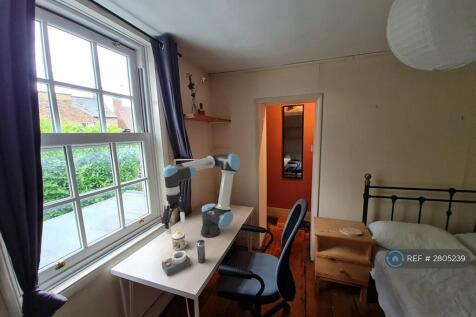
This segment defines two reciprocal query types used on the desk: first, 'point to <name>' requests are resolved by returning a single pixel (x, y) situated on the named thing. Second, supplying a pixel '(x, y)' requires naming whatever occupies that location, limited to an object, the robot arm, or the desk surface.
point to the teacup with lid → (179, 240)
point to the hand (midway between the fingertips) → (176, 227)
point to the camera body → (175, 262)
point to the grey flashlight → (201, 251)
